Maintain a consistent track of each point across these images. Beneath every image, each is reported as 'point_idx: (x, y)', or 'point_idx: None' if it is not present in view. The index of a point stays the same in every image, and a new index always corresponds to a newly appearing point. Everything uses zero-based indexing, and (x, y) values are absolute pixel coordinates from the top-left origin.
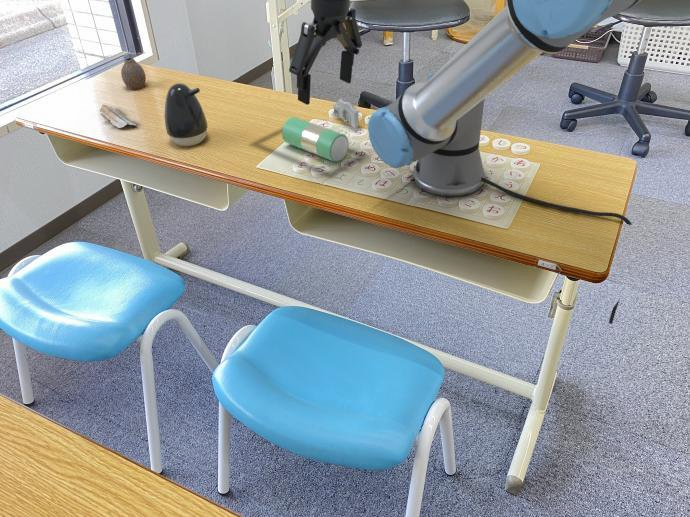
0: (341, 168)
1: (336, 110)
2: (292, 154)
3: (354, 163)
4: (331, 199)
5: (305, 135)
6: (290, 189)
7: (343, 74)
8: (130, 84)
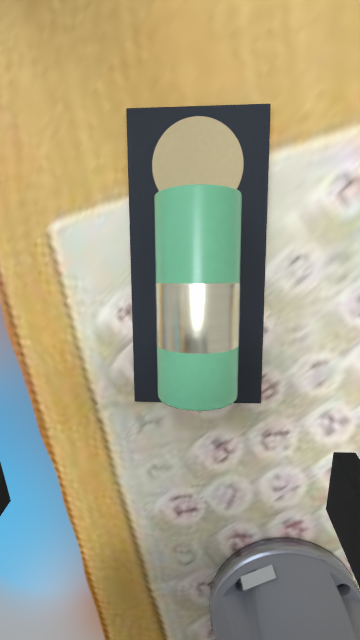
0: None
1: None
2: None
3: None
4: (67, 465)
5: (161, 298)
6: (36, 370)
7: (348, 511)
8: None
